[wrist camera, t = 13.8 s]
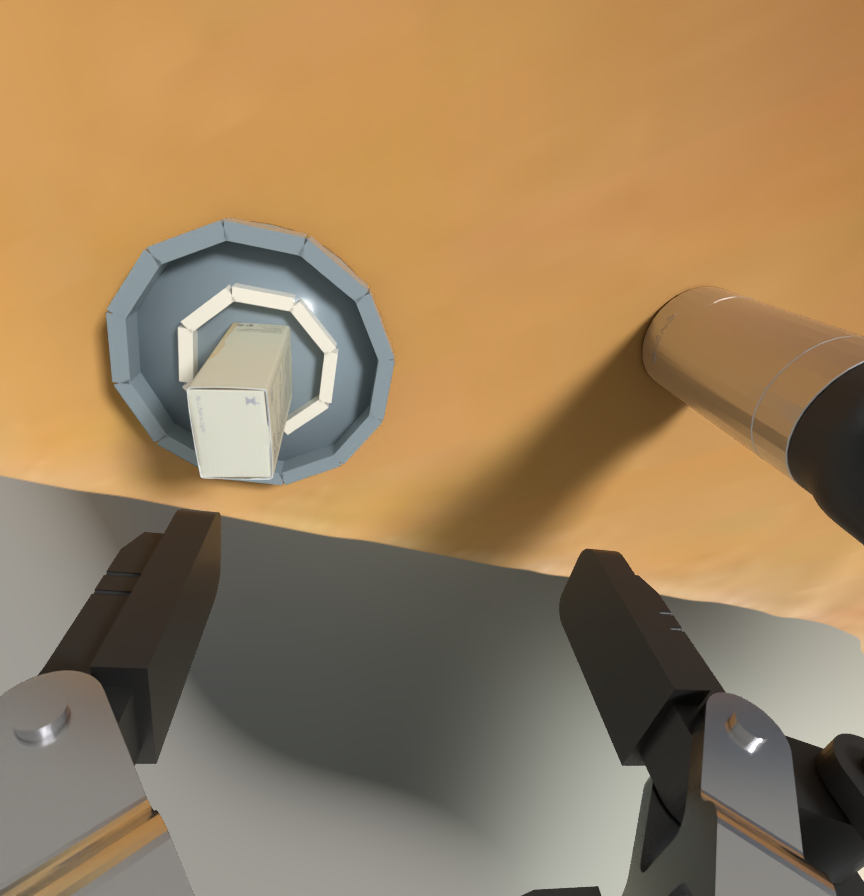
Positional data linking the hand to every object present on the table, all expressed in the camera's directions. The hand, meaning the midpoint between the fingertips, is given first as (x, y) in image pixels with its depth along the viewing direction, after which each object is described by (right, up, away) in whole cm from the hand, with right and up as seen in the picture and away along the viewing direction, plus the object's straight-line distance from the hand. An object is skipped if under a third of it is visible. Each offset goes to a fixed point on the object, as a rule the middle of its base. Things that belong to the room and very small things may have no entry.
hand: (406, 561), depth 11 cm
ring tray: (-13, +10, +29) cm, 33 cm away
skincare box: (-13, +9, +28) cm, 32 cm away
